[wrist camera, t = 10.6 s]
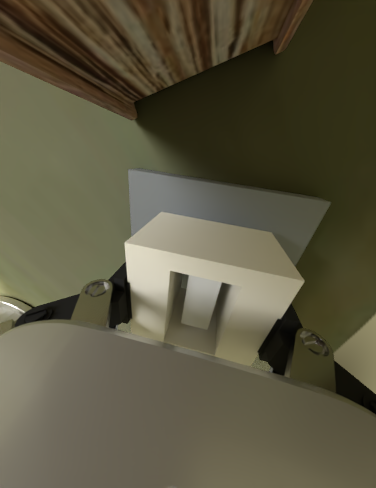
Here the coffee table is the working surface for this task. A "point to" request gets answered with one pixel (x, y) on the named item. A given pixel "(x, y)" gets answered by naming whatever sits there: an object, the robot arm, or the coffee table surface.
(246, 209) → the grey flat piece
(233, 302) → the collar
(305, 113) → the coffee table surface
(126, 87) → the book
